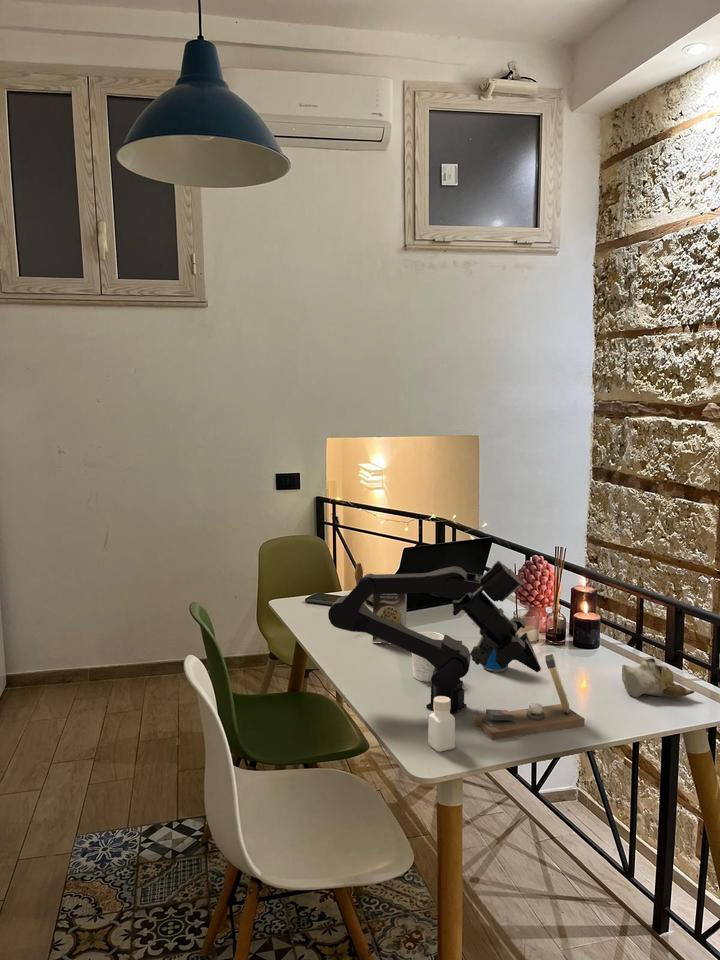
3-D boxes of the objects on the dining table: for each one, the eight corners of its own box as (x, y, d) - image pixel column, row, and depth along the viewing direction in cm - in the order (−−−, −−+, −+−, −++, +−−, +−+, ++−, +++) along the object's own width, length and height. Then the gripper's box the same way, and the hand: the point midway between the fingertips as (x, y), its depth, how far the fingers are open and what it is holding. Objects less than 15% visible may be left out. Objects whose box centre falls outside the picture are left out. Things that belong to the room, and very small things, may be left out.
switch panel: (473, 723, 152) (473, 713, 152) (561, 710, 159) (562, 700, 159) (492, 740, 145) (492, 729, 145) (584, 725, 151) (584, 715, 151)
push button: (526, 709, 153) (526, 704, 153) (537, 708, 154) (537, 702, 154) (533, 714, 151) (533, 709, 150) (544, 713, 151) (544, 707, 151)
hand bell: (372, 610, 237) (373, 560, 235) (369, 617, 229) (369, 566, 227) (347, 609, 238) (347, 560, 236) (343, 616, 230) (343, 565, 228)
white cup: (409, 671, 182) (409, 631, 181) (441, 671, 182) (442, 631, 181) (412, 683, 175) (412, 641, 174) (445, 683, 175) (446, 641, 174)
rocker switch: (485, 714, 150) (486, 708, 150) (505, 714, 152) (506, 709, 152) (491, 719, 147) (493, 713, 147) (512, 720, 149) (513, 714, 149)
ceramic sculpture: (612, 650, 172) (672, 651, 174) (608, 686, 172) (668, 687, 175) (635, 666, 161) (699, 667, 163) (631, 705, 162) (694, 705, 164)
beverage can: (489, 661, 189) (490, 615, 188) (512, 667, 185) (513, 620, 184) (476, 668, 184) (477, 621, 183) (500, 674, 180) (501, 626, 179)
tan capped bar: (564, 715, 153) (545, 661, 153) (563, 708, 157) (545, 655, 156) (572, 713, 153) (553, 659, 152) (571, 707, 156) (552, 653, 156)
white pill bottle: (437, 753, 139) (438, 704, 138) (427, 744, 143) (427, 697, 142) (455, 749, 141) (456, 701, 140) (444, 740, 144) (445, 693, 144)
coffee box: (371, 644, 203) (372, 586, 201) (374, 636, 209) (374, 580, 208) (405, 645, 202) (405, 587, 200) (406, 638, 208) (407, 581, 207)
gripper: (463, 627, 167) (512, 678, 166) (454, 654, 149) (509, 712, 148) (499, 595, 165) (549, 647, 164) (495, 618, 147) (551, 677, 146)
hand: (539, 670), depth 155 cm, fingers closed
